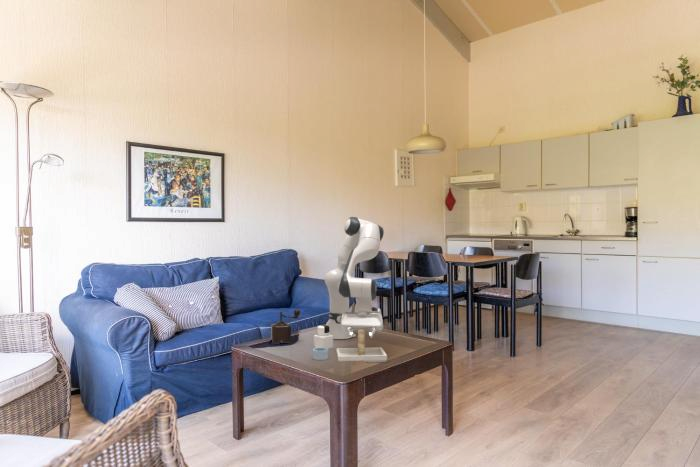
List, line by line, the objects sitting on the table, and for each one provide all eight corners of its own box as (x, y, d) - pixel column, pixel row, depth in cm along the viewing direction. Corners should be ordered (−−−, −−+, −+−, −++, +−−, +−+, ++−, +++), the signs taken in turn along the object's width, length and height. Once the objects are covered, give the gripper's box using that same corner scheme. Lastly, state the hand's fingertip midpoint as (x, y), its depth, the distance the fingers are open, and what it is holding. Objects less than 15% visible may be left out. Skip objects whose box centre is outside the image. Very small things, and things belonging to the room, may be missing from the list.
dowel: (357, 355, 216) (357, 329, 217) (364, 355, 217) (364, 329, 217) (358, 356, 213) (358, 330, 213) (364, 356, 213) (365, 330, 214)
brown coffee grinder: (271, 345, 242) (271, 310, 243) (270, 340, 253) (270, 307, 253) (301, 343, 246) (301, 309, 246) (298, 339, 257) (298, 306, 257)
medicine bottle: (324, 347, 237) (324, 323, 238) (333, 349, 232) (333, 325, 232) (313, 349, 232) (313, 325, 233) (322, 351, 227) (322, 327, 227)
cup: (312, 358, 214) (312, 347, 214) (327, 358, 215) (327, 347, 215) (313, 362, 208) (313, 351, 208) (328, 362, 208) (328, 350, 208)
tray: (336, 354, 222) (336, 348, 222) (381, 353, 224) (381, 347, 224) (338, 363, 206) (338, 356, 206) (387, 362, 208) (387, 355, 208)
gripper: (341, 308, 224) (338, 332, 214) (383, 308, 221) (381, 333, 211) (343, 315, 228) (339, 339, 218) (384, 316, 225) (382, 341, 215)
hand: (360, 336), depth 214 cm, fingers open, 8 cm apart
